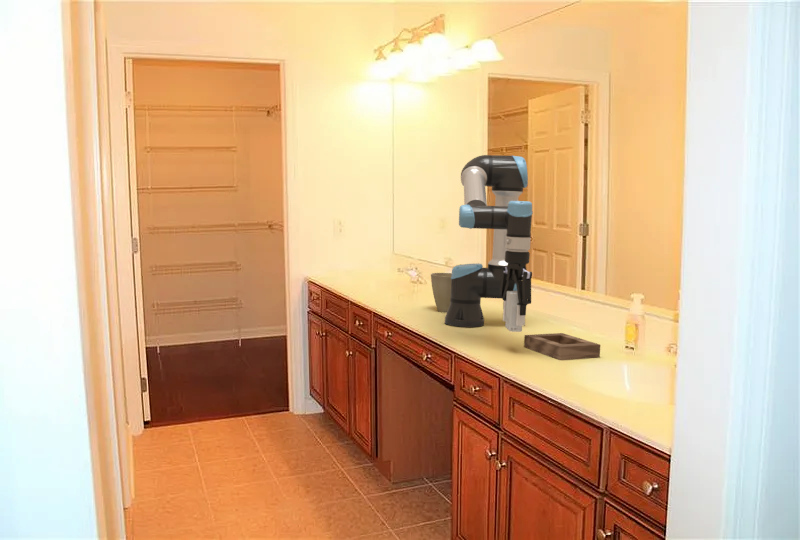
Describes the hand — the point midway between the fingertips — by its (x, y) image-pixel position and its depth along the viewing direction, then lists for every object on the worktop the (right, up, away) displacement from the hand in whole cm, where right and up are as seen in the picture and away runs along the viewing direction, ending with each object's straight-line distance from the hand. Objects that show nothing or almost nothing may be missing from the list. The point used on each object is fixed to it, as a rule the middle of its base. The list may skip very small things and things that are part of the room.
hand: (513, 322), depth 208 cm
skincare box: (0, -2, 0) cm, 2 cm away
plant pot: (-16, -1, +77) cm, 79 cm away
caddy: (+15, -9, +2) cm, 18 cm away
